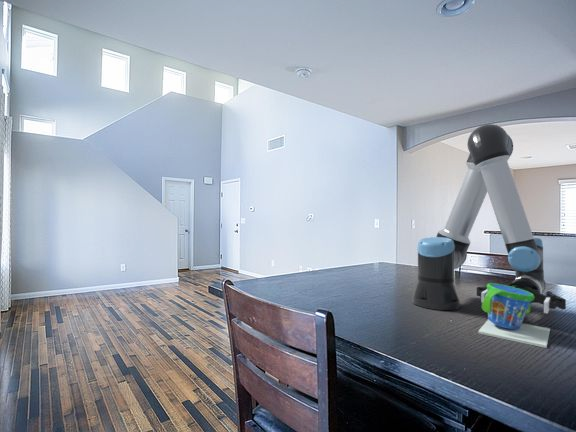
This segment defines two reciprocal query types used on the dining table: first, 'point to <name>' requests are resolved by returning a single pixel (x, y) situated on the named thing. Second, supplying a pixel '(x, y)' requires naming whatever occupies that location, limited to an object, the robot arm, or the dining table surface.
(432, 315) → the dining table surface
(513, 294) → the snack cup
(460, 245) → the robot arm
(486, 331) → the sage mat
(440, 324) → the dining table surface
